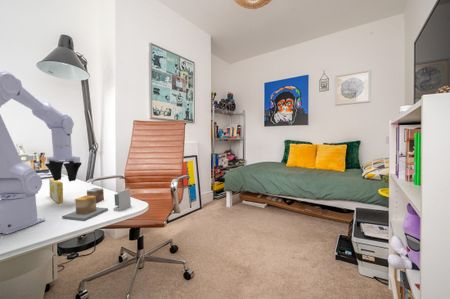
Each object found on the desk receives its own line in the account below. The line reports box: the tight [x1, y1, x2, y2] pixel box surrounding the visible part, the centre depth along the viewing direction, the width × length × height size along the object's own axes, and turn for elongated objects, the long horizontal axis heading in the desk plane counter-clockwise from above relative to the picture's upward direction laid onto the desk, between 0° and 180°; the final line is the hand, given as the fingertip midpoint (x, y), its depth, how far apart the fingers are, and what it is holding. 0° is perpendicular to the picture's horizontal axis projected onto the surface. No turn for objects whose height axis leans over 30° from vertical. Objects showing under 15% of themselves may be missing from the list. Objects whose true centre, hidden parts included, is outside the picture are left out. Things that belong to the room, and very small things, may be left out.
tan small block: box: [74, 194, 97, 215], centre depth 68 cm, size 4×4×5 cm
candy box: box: [48, 177, 64, 204], centre depth 86 cm, size 16×2×8 cm, turn 50°
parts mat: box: [62, 206, 109, 222], centre depth 68 cm, size 9×9×1 cm
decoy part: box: [86, 187, 105, 204], centre depth 82 cm, size 4×4×5 cm
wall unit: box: [113, 187, 132, 212], centre depth 73 cm, size 5×3×7 cm, turn 165°
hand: (64, 180), depth 79 cm, fingers open, 7 cm apart
